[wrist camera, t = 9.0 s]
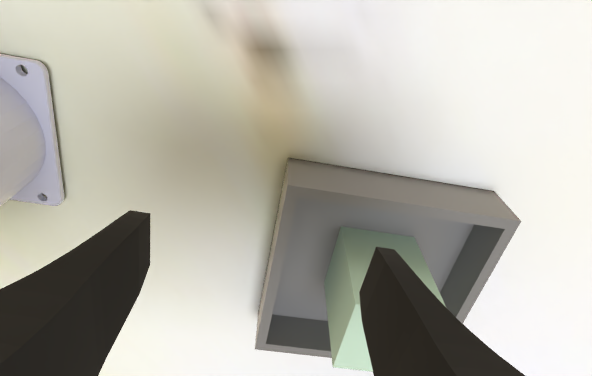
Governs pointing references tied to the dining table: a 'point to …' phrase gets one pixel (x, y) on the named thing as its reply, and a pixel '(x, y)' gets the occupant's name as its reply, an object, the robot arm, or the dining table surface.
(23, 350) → the robot arm
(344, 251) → the mint block
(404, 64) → the dining table surface
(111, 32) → the dining table surface
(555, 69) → the dining table surface
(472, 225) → the gray tray
